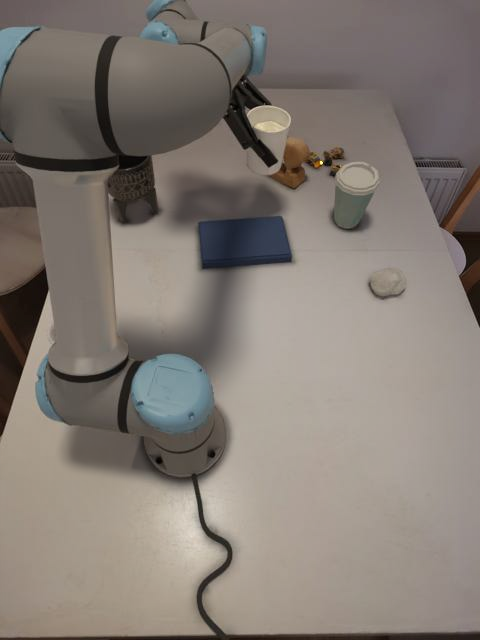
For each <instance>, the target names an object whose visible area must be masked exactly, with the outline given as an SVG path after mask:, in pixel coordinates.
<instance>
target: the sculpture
mask: <svg viewBox="0 0 480 640" xmlns="http://www.w3.org/2000/svg"><path fill="white" fill-rule="evenodd" d="M310 153H311V150H310V148H309V145H308V143H306V142H305V140H302V139H300V138H297V137H293V136H289V135H288V138H287V142H286V146H285V151H284V156H283V161H284V162H282V165H281V168H280V170H279V171H278V172H276V173H274V174H271V175H267V176H268V177H270V178H272V179H273V180H275V181H277V182H279V183H281V184H282V185H285V186H287V187H290V188H292V189H296V188H297V187H298V186H299V185H301V183H303V182H304V181H305V180H306V170H305V169H306V168H305V167H303V166H302V164H303V163H306V161H307V160H308V159H309V158H310Z"/></svg>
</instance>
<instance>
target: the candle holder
mask: <svg viewBox="0 0 480 640" xmlns="http://www.w3.org/2000/svg"><path fill="white" fill-rule="evenodd" d="M246 115H247V117H248V119H249V121H250V124H251V127H252V129H253V131H254V132H255V134H256V137H257V139H258V140H259V139H260V140H261V141H262V142H263V143H264V144H265V146H267V147H268V148H269V150H270V151H271V152H272V153H273V155H274V156H275V157H276V158H277V159H278V163H276V164H274V165H273V166H271V167H269V168H268V167H267V165H266V164H265V163H264V162H263V161H262V159H261V158H260V157H258V155H257V154H256V153H255V152H254V150H253V149H252V148H250V147H249V148H248V149H246V164H247V166H248V169H249V170H250V171H251V172H253V173H254V174H256V175H260V176H268V175H271V174H274V173H276V172H278V171H279V170H280V168H281V165H282V163H283V161H284V158H283V156H284V151H285V146H286V142H287V137H288V136H289V131H290V128H291V123H292V117H291V116H290V113H288V112H287V111H286V110H285V109H283V108H281V107H278V106H274V105H272V106H259V107H256V108H253V109H252V110H250V109H249V111H248V112H247V113H246Z"/></svg>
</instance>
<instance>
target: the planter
mask: <svg viewBox="0 0 480 640" xmlns="http://www.w3.org/2000/svg"><path fill="white" fill-rule="evenodd" d="M155 186H156V178H155V171H154V163H153V155H150V156H132V155H120V154H119V168H118V169H117V170H116V171H115V172H114V173H113V174H112V175H111V176H110V177H109V178H108V195H109V196H111V197H112V201H113V204H114V207H115V210H116V214H117V216H118V219H119V222H120V223H122V224H125V223H126V222H127V208H128V206H129V203H134V202H138V201H142V200H144V201H145V202H146V203H147V204H148V205H149V207H150V209H151V212H152V214H153V215H157V214H158V212H159V206H158V199H157V189H156V187H155Z"/></svg>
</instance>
